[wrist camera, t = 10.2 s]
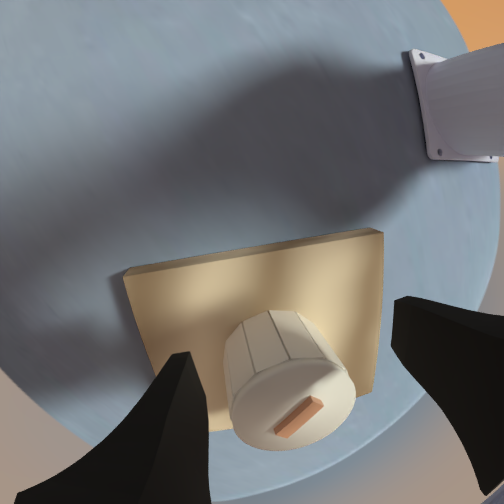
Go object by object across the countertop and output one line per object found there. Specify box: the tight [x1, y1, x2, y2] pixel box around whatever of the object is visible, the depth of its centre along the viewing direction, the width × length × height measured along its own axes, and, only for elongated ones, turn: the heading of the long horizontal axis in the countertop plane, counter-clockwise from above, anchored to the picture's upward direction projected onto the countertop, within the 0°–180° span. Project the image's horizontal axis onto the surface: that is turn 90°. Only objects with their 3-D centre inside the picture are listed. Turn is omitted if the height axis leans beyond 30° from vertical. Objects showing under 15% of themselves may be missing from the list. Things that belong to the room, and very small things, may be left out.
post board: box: [123, 228, 384, 432], centre depth 15 cm, size 14×12×5 cm
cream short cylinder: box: [223, 310, 356, 451], centre depth 13 cm, size 6×6×5 cm
